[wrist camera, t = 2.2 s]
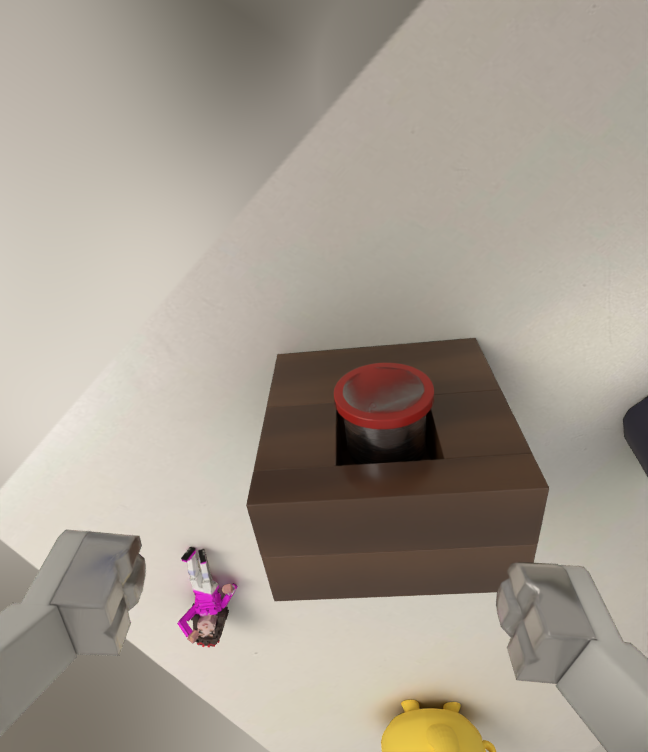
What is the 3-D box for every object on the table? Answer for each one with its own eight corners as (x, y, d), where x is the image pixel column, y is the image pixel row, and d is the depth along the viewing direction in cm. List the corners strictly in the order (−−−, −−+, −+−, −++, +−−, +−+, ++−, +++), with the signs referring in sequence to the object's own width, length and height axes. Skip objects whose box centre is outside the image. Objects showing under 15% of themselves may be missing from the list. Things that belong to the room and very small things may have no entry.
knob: (333, 366, 27) (332, 423, 23) (426, 358, 27) (442, 416, 23) (340, 420, 30) (340, 483, 25) (425, 414, 29) (440, 477, 25)
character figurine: (173, 539, 48) (194, 620, 53) (157, 582, 43) (182, 665, 49) (230, 537, 48) (246, 618, 53) (220, 580, 43) (238, 664, 48)
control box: (277, 354, 34) (245, 505, 23) (475, 337, 33) (549, 487, 22) (293, 438, 39) (273, 601, 27) (469, 426, 38) (528, 591, 26)
